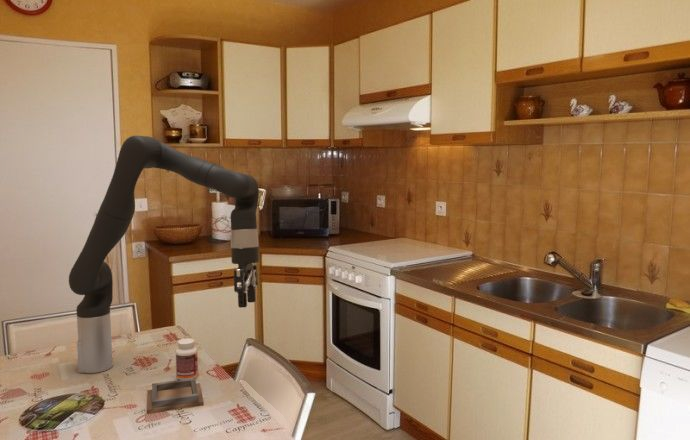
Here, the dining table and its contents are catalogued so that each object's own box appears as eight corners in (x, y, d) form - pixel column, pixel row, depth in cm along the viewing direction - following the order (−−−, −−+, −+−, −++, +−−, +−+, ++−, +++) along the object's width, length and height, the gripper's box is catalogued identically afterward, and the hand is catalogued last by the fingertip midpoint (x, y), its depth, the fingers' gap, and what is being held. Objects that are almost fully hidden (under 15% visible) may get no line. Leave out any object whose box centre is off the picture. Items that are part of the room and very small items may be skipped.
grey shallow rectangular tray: (146, 413, 132) (146, 403, 132) (147, 393, 144) (147, 383, 143) (203, 405, 137) (203, 395, 137) (199, 386, 148) (199, 376, 148)
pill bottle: (200, 378, 154) (199, 342, 153) (179, 383, 151) (178, 346, 149) (194, 370, 159) (193, 336, 158) (173, 375, 156) (172, 339, 154)
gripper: (239, 245, 151) (241, 301, 151) (223, 247, 137) (225, 309, 137) (264, 244, 150) (267, 300, 150) (250, 246, 136) (253, 308, 136)
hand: (247, 304), depth 144 cm, fingers open, 8 cm apart
